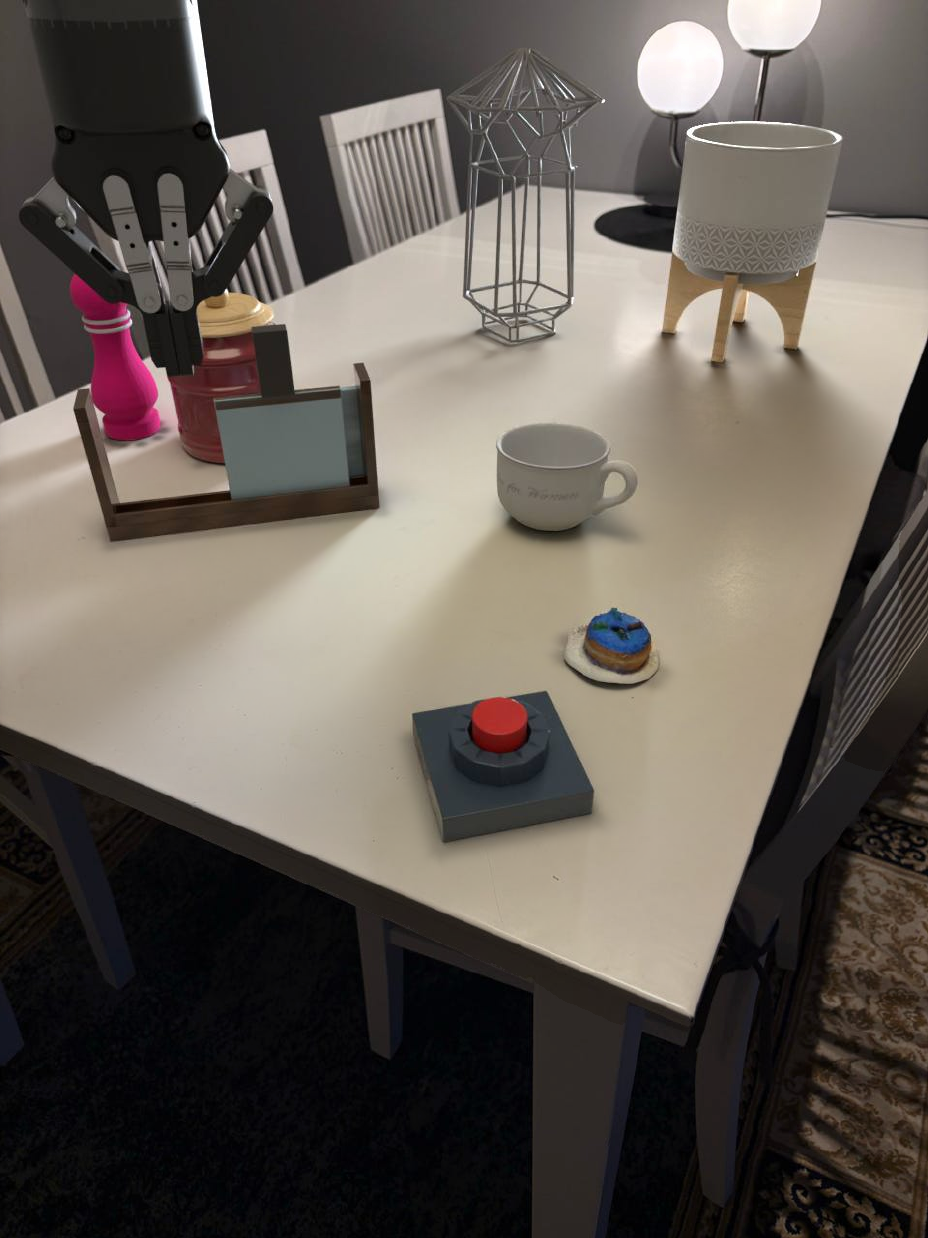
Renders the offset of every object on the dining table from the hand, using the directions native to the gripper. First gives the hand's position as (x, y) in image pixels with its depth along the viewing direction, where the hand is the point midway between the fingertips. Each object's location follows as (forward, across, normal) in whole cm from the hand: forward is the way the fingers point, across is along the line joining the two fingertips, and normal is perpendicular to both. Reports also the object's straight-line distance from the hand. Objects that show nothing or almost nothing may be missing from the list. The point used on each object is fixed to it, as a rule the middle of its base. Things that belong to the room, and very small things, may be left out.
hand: (180, 371), depth 52 cm
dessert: (+26, -29, 0) cm, 39 cm away
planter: (+26, -70, -63) cm, 98 cm away
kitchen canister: (+26, -2, -46) cm, 53 cm away
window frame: (+26, -2, -29) cm, 39 cm away
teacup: (+26, -32, -21) cm, 46 cm away
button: (+22, -17, +10) cm, 30 cm away
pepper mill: (+27, +10, -52) cm, 60 cm away
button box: (+26, -17, +10) cm, 33 cm away
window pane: (+25, -6, -28) cm, 38 cm away
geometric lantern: (+26, -42, -74) cm, 89 cm away
